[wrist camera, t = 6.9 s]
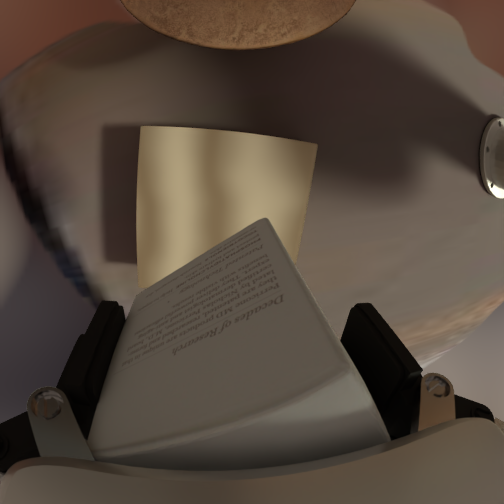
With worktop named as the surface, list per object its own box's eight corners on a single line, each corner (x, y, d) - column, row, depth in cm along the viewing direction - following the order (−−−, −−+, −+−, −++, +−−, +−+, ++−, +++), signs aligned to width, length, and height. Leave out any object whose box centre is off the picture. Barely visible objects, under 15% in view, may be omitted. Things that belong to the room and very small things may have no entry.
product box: (328, 324, 13) (400, 460, 6) (215, 380, 13) (228, 519, 7) (265, 210, 10) (359, 365, 3) (131, 292, 11) (76, 461, 4)
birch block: (299, 141, 26) (317, 144, 22) (277, 271, 32) (288, 295, 27) (153, 126, 24) (140, 126, 19) (148, 263, 29) (138, 287, 25)
